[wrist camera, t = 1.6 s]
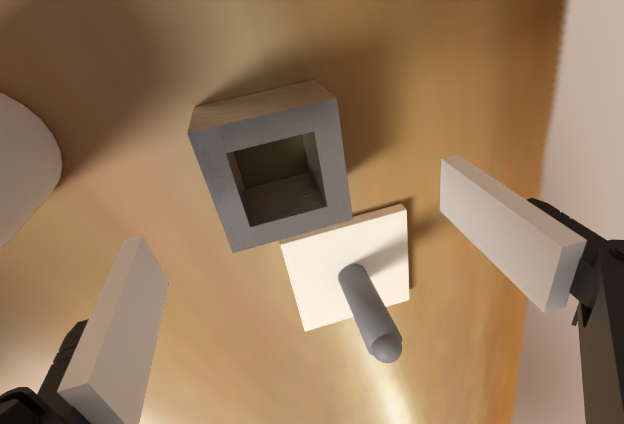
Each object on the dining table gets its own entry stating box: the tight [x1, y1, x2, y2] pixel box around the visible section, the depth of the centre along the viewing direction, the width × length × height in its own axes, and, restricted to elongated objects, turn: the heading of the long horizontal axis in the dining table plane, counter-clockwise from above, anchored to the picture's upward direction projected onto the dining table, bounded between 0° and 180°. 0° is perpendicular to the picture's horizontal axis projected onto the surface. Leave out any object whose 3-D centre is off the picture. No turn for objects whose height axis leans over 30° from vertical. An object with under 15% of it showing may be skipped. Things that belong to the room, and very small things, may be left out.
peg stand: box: [279, 204, 409, 363], centre depth 26 cm, size 10×10×9 cm
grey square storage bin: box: [187, 79, 353, 253], centre depth 21 cm, size 7×7×5 cm
